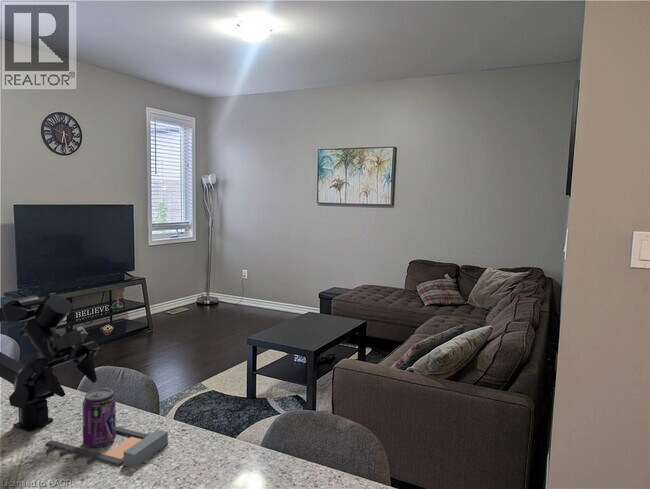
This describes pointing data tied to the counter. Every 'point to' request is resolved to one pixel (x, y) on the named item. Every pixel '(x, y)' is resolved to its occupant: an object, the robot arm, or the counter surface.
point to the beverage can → (99, 417)
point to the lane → (120, 448)
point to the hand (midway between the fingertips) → (80, 388)
